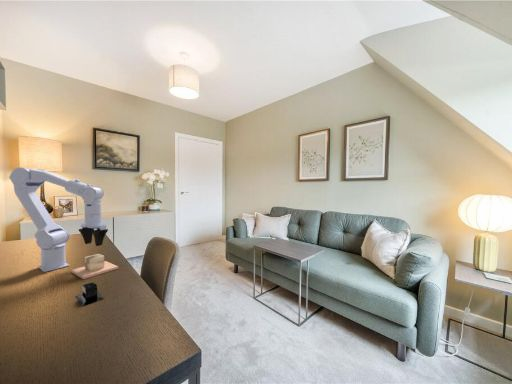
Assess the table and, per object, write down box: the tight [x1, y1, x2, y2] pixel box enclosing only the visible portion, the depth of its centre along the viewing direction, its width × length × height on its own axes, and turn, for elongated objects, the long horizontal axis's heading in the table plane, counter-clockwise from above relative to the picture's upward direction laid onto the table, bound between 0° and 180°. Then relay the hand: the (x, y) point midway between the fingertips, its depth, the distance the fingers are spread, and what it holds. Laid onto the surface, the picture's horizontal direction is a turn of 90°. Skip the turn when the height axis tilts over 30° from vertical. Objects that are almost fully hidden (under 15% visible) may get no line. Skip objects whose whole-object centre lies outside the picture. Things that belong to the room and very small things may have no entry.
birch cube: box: [84, 253, 105, 272], centre depth 86 cm, size 5×5×5 cm
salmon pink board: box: [71, 260, 119, 280], centre depth 86 cm, size 12×12×1 cm
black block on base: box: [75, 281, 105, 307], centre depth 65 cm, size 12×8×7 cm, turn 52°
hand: (93, 244), depth 91 cm, fingers open, 7 cm apart
